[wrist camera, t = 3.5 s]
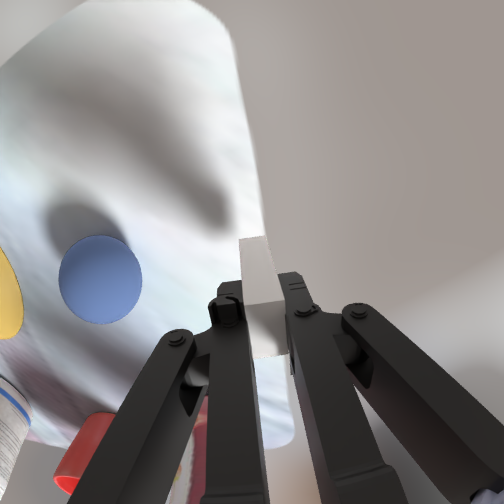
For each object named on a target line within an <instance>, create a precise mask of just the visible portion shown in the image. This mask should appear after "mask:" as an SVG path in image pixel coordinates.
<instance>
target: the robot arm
mask: <svg viewBox="0 0 504 504" xmlns="http://www.w3.org/2000/svg"><path fill="white" fill-rule="evenodd" d="M239 250H240V263H241V277H242V280H237V281H230V282H222V283H221V285H220V286H219V287H218V288H217V298H215V299H213V300H212V301H211V302H209V305H208V310H209V314H210V318H211V323H212V327H211V328H210V329H208V330H207V331H205V332H202V333H200V334H196V335H193V334H192V332H190V331H189V330H186V329H175V330H172V331H169V332H168V333H166V334H164V336H163V337H162V338H161V339H160V341H159V342H158V344H157V346H156V347H155V349H154V351H153V352H152V354H151V356H150V357H149V359H148V361H147V362H146V364H145V366H144V367H143V369H142V371H141V372H140V374H139V376H138V377H137V379H136V381H135V382H134V384H133V386H132V388H131V389H130V391H129V393H128V394H127V396H126V398H125V400H124V401H123V403H122V405H121V406H120V408H119V410H118V412H117V413H116V415H115V417H114V419H113V420H112V422H111V424H110V426H109V427H108V429H107V431H106V433H105V434H104V436H103V438H102V440H101V442H100V443H99V445H98V447H97V449H96V451H95V452H94V454H93V456H92V458H91V460H90V461H89V463H88V465H87V467H86V469H85V471H84V472H83V474H82V476H81V478H80V480H79V482H78V484H77V485H76V487H75V489H74V491H73V493H72V495H71V497H70V499H69V501H68V503H67V504H165V502H166V500H167V497H168V494H169V492H170V489H171V486H172V484H173V481H174V478H175V476H176V473H177V470H178V468H179V465H180V462H181V460H182V457H183V454H184V452H185V449H186V446H187V443H188V441H189V438H190V435H191V433H192V430H193V427H194V425H195V422H196V419H197V416H198V414H199V411H200V408H201V406H202V403H203V400H204V398H205V395H206V392H207V389H208V408H207V436H206V482H205V494H204V495H203V496H202V497H201V499H200V503H199V504H270V498H269V490H268V483H267V475H266V466H265V457H264V448H263V439H262V431H261V422H260V413H259V404H258V395H257V386H256V377H255V368H254V362H253V359H258V358H265V357H272V356H279V355H285V354H288V353H290V369H291V375H293V377H294V382H295V386H296V390H297V395H298V399H299V404H300V408H301V412H302V417H303V421H304V425H305V430H306V435H307V439H308V443H309V448H310V452H311V457H312V461H313V466H314V471H315V475H316V479H317V484H318V489H319V493H320V498H321V503H322V504H408V501H407V498H406V496H405V493H404V490H403V487H402V485H401V482H400V480H399V477H398V475H397V473H396V471H395V469H394V468H393V467H392V466H390V465H387V464H385V462H384V461H383V459H382V456H381V454H380V451H379V448H378V445H377V443H376V440H375V438H374V435H373V432H372V430H371V427H370V425H369V422H368V420H367V417H366V415H365V412H364V410H363V407H362V405H361V402H360V400H359V397H358V395H357V392H356V390H355V388H354V386H355V387H356V388H357V389H358V391H359V392H360V393H361V394H362V396H363V397H364V398H365V399H366V401H367V402H368V403H369V404H370V406H371V407H372V408H373V409H374V410H375V412H376V413H377V414H378V415H379V417H380V418H381V419H382V420H383V422H384V423H385V424H386V425H387V427H388V428H389V429H390V430H391V432H392V433H393V434H394V435H395V437H396V438H397V439H398V440H399V441H400V443H401V444H402V445H403V446H404V448H405V449H406V450H407V451H408V453H409V454H410V455H411V456H412V458H413V459H414V460H415V461H416V463H417V464H418V465H419V466H420V468H421V469H422V470H423V471H424V472H425V474H426V475H427V476H428V477H429V479H430V480H431V481H432V482H433V484H434V485H435V486H436V487H437V489H438V490H439V491H440V492H441V493H442V494H443V496H444V497H445V498H446V499H447V500H448V501H449V502H450V503H452V504H504V426H503V425H502V424H501V423H500V422H499V421H498V420H497V419H496V418H495V417H494V416H493V415H492V414H491V413H490V412H489V411H488V410H487V409H486V408H485V407H484V406H482V404H480V403H479V402H478V401H477V400H476V399H475V398H474V397H473V396H472V395H471V394H470V393H469V392H468V391H467V390H466V389H464V388H463V387H462V386H461V385H460V384H459V383H458V382H457V381H456V380H455V379H454V378H452V377H451V376H450V375H449V374H448V373H447V372H446V371H445V370H444V369H443V368H441V367H440V366H439V365H438V364H437V363H436V362H435V361H434V360H433V359H431V358H430V357H429V356H428V355H427V354H426V353H425V352H424V351H422V350H421V349H420V348H419V347H418V346H417V345H416V344H415V343H413V342H412V341H411V340H410V339H409V338H408V337H407V336H405V335H404V334H403V333H402V332H401V331H400V330H399V329H397V328H396V327H395V326H394V325H393V324H392V323H390V322H389V321H388V320H387V319H386V318H385V317H383V316H382V315H381V314H380V313H379V312H378V311H376V310H375V309H374V308H373V307H371V306H370V305H368V304H363V303H353V304H349V305H347V306H345V307H344V308H343V310H342V314H336V313H335V314H334V313H326V312H323V311H322V310H321V308H320V307H319V306H318V305H316V304H314V303H313V300H312V298H311V296H310V293H309V291H308V289H307V287H306V284H305V282H304V280H303V278H302V276H301V275H299V274H298V273H297V272H290V273H282V274H277V272H276V268H275V265H274V262H273V259H272V255H271V252H270V249H269V245H268V242H267V238H266V236H259V237H251V238H244V239H239ZM288 349H289V352H288ZM208 384H209V385H208ZM353 384H354V385H353Z"/></svg>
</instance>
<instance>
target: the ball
mask: <svg viewBox="0 0 504 504" xmlns="http://www.w3.org/2000/svg"><path fill="white" fill-rule="evenodd" d="M59 287H60V292H61V295H62V297H63V299H64V301H65V303H66V305H67V306H68V308H69V309H70V310H71V311H72V312H73V313H74V314H75V315H77V316H78V317H79V318H81V319H83V320H85V321H87V322H91V323H95V324H108V323H112V322H115V321H117V320H120V319H121V318H123V317H124V316H126V315H127V314H128V313H129V312H130V311H131V310H132V309H133V308H134V306H135V304H136V303H137V301H138V299H139V296H140V293H141V288H142V273H141V268H140V265H139V262H138V260H137V258H136V257H135V255H134V253H133V252H132V251H131V250H130V249H129V247H128V246H126V245H125V244H124V243H122V242H121V241H119V240H117V239H115V238H113V237H109V236H104V235H95V236H89V237H87V238H84V239H82V240H80V241H78V242H77V243H75V244H74V245H73V246H72V247H71V248H70V249H69V250H68V251H67V253H66V254H65V256H64V258H63V260H62V262H61V266H60V270H59Z"/></svg>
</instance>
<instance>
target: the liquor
mask: <svg viewBox="0 0 504 504" xmlns="http://www.w3.org/2000/svg"><path fill="white" fill-rule="evenodd" d="M207 408H208V395H205V398H204V400H203V403H202V406H201V408H200V411H199V414H198V416H197V419H196V422H195V425H194V427H193V430H192V433H191V435H190V438H189V441H188V443H187V446H186V449H185V452H184V454H183V457H182V460H181V462H180V465H179V468H178V470H177V473H176V476H175V478H174V481H173V484H172V490H171V497H170V503H169V504H199V503H200V499H201V497H202V496H203V495H204V494H205V482H206V436H207Z"/></svg>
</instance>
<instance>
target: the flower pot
mask: <svg viewBox="0 0 504 504" xmlns="http://www.w3.org/2000/svg"><path fill="white" fill-rule="evenodd" d="M115 415H116V414H112V413H105V412H98V413H93V414H91V415H90V416H89V417H88V418H87V419H86V421H85V423H84V424H83V426H82V427H81V429H80V431H79V432H78V434H77V435H76V437H75V439H74V440H73V442H72V444H71V445H70V447H69V448H68V450H67V452H66V453H65V455H64V457H63V459H62V460H61V462H60V464H59V466H58V467H57V469H56V471H55V473H54V476H53V479H54V481H55V483H56V484H57V485H58V486H59V487H60V488H61V489H62V490H63V491H65V492H66V493H68V494H70V495H72V493H73V491H74V489H75V487H76V485H77V484H78V482H79V480H80V478H81V476H82V474H83V472H84V471H85V469H86V467H87V465H88V463H89V461H90V460H91V458H92V456H93V454H94V452H95V451H96V449H97V447H98V445H99V443H100V442H101V440H102V438H103V436H104V434H105V433H106V431H107V429H108V427H109V426H110V424H111V422H112V420H113V419H114V417H115Z"/></svg>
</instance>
